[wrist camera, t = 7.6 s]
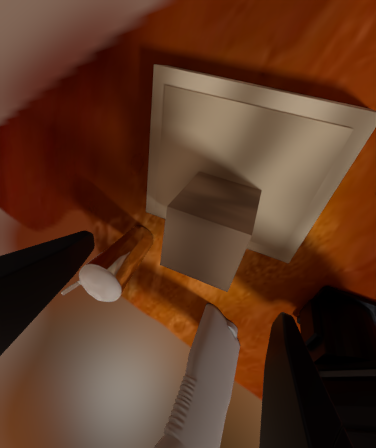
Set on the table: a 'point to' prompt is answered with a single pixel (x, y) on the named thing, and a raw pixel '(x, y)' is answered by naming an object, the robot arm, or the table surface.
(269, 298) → the table surface
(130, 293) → the table surface
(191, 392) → the grey ridged slab
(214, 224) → the walnut block
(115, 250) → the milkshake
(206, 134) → the base
